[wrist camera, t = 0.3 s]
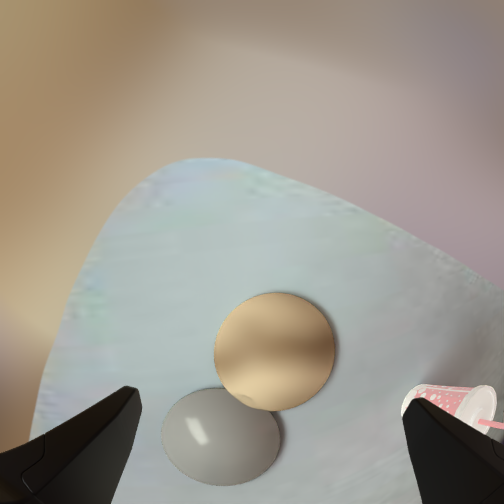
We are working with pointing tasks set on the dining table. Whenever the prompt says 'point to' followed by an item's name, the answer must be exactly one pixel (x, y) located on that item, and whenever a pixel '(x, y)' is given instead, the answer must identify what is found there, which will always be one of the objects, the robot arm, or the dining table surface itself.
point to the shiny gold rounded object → (274, 351)
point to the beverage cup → (461, 403)
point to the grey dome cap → (219, 438)
